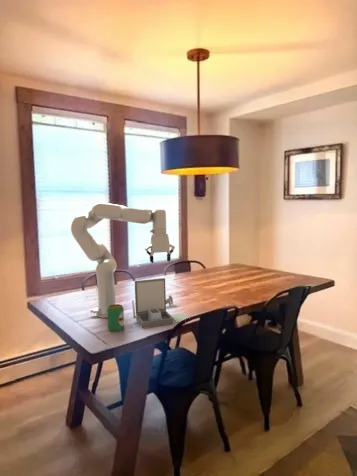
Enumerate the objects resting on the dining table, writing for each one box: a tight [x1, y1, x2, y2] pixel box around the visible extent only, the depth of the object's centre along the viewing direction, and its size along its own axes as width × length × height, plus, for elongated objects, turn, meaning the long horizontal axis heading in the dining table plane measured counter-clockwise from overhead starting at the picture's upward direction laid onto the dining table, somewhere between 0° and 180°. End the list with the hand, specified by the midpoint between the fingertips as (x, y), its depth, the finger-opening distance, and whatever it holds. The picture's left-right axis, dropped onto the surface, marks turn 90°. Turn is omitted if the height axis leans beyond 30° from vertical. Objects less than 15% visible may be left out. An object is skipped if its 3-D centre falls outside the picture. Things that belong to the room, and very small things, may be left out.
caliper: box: [166, 294, 174, 306], centre depth 217 cm, size 20×1×6 cm, turn 139°
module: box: [147, 309, 162, 321], centre depth 192 cm, size 5×8×6 cm, turn 19°
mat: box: [170, 312, 189, 324], centre depth 198 cm, size 8×13×1 cm, turn 19°
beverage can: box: [107, 303, 125, 333], centre depth 182 cm, size 8×8×12 cm
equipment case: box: [131, 277, 175, 329], centre depth 192 cm, size 19×15×22 cm
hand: (160, 262), depth 203 cm, fingers open, 9 cm apart
